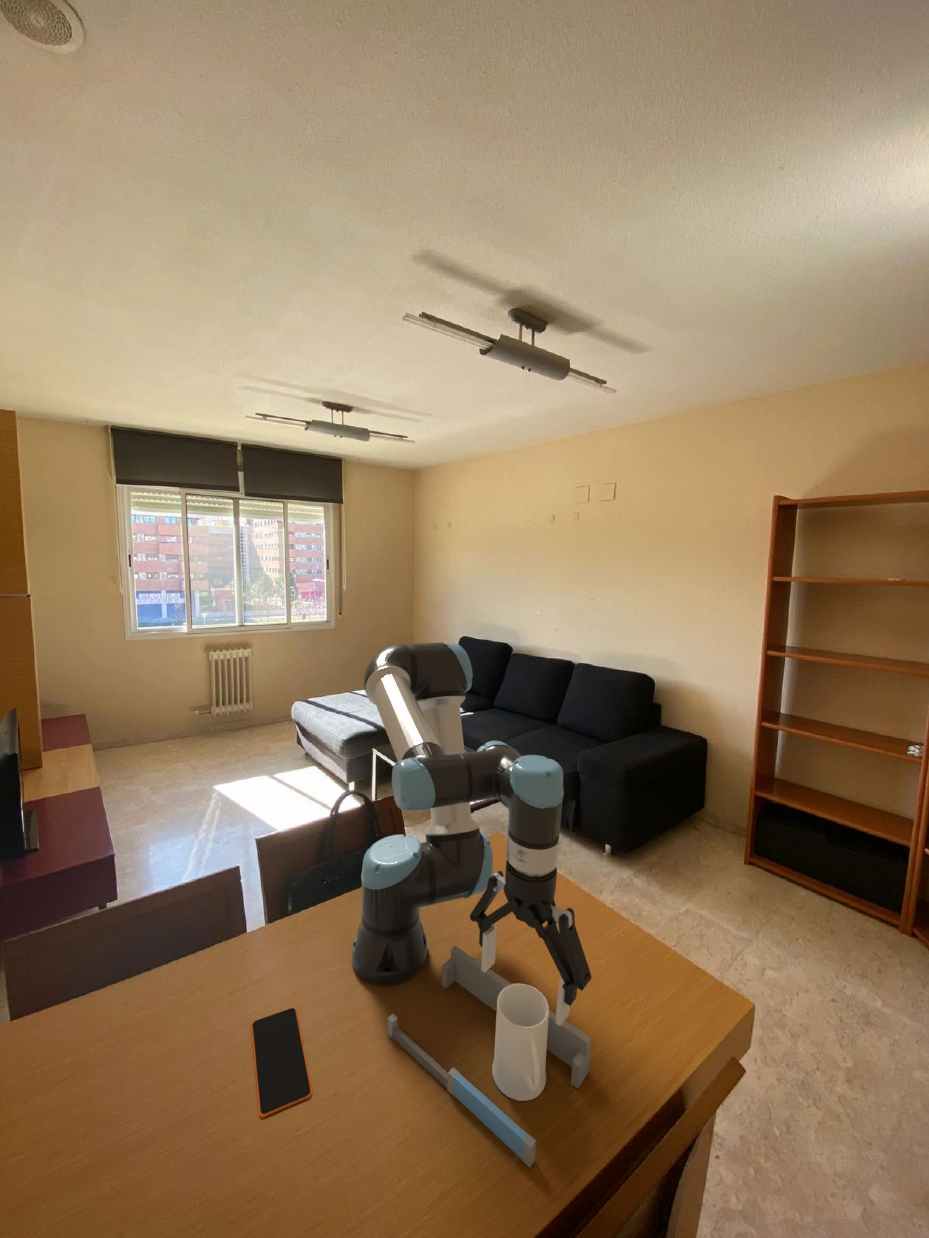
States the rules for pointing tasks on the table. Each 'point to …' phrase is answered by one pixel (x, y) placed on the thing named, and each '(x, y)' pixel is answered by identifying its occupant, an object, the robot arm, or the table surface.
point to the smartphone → (279, 1062)
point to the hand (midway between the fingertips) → (523, 991)
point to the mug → (521, 1042)
